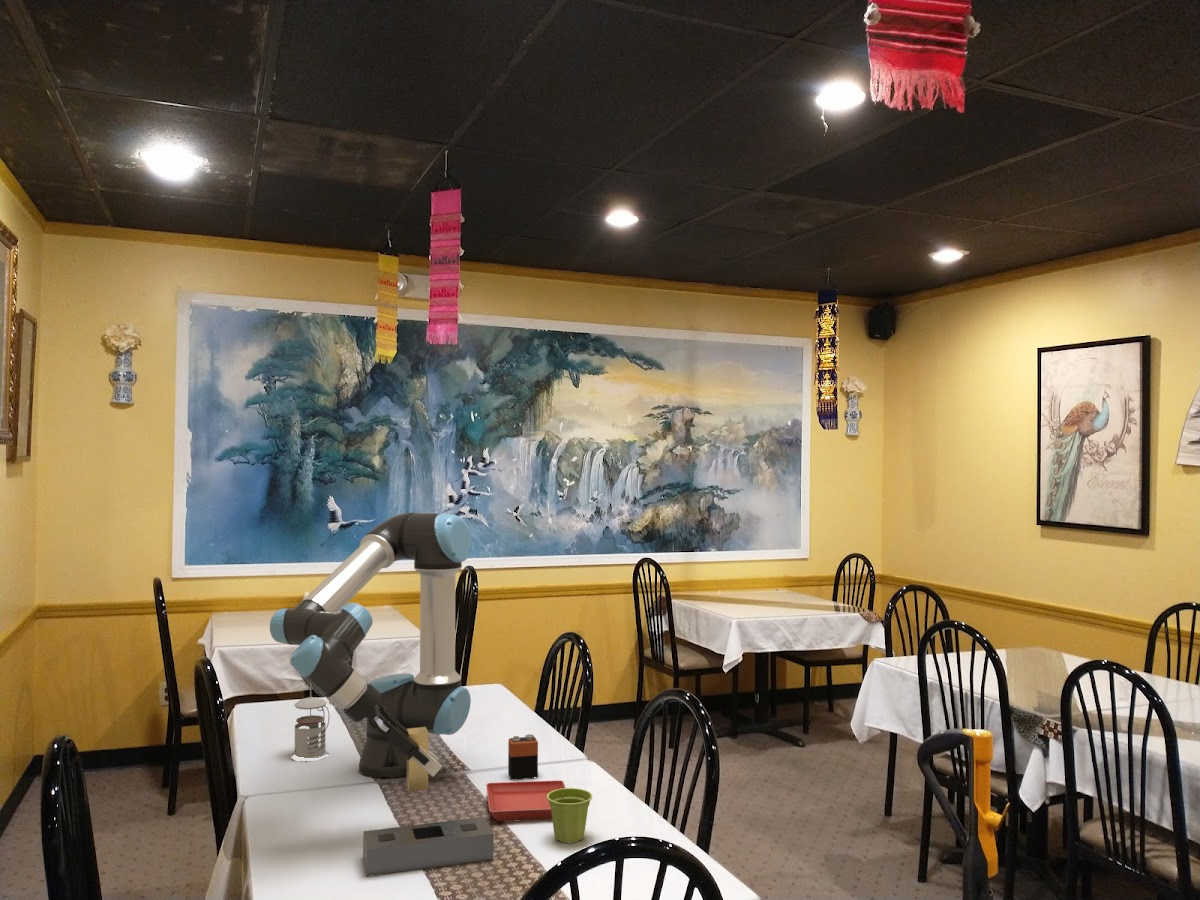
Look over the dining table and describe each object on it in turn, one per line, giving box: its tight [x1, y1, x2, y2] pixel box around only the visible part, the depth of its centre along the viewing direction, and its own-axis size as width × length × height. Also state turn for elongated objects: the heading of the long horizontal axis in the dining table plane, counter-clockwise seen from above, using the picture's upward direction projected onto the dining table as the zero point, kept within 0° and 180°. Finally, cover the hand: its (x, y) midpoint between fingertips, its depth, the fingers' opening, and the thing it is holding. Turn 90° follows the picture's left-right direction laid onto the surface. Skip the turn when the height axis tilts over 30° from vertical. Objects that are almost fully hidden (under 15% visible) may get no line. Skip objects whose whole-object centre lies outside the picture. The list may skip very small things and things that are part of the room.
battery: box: [507, 733, 539, 780], centre depth 227 cm, size 4×7×10 cm, turn 104°
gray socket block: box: [362, 816, 494, 877], centre depth 180 cm, size 24×9×5 cm, turn 109°
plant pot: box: [547, 787, 593, 844], centre depth 190 cm, size 9×9×9 cm
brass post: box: [406, 727, 429, 793], centre depth 194 cm, size 4×4×12 cm
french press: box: [293, 682, 330, 758], centre depth 243 cm, size 10×12×25 cm
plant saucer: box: [485, 779, 567, 822], centre depth 207 cm, size 18×18×3 cm
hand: (435, 767), depth 195 cm, fingers closed on brass post, 4 cm apart
